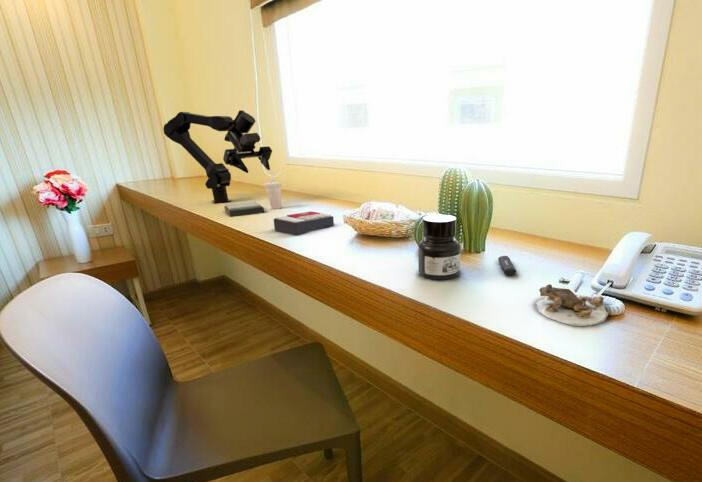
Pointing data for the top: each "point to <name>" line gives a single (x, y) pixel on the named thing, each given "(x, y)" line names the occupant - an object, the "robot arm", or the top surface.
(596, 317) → the frog figurine
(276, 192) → the smoothie
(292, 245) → the top surface
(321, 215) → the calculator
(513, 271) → the usb stick
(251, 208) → the scale
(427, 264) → the ink bottle
